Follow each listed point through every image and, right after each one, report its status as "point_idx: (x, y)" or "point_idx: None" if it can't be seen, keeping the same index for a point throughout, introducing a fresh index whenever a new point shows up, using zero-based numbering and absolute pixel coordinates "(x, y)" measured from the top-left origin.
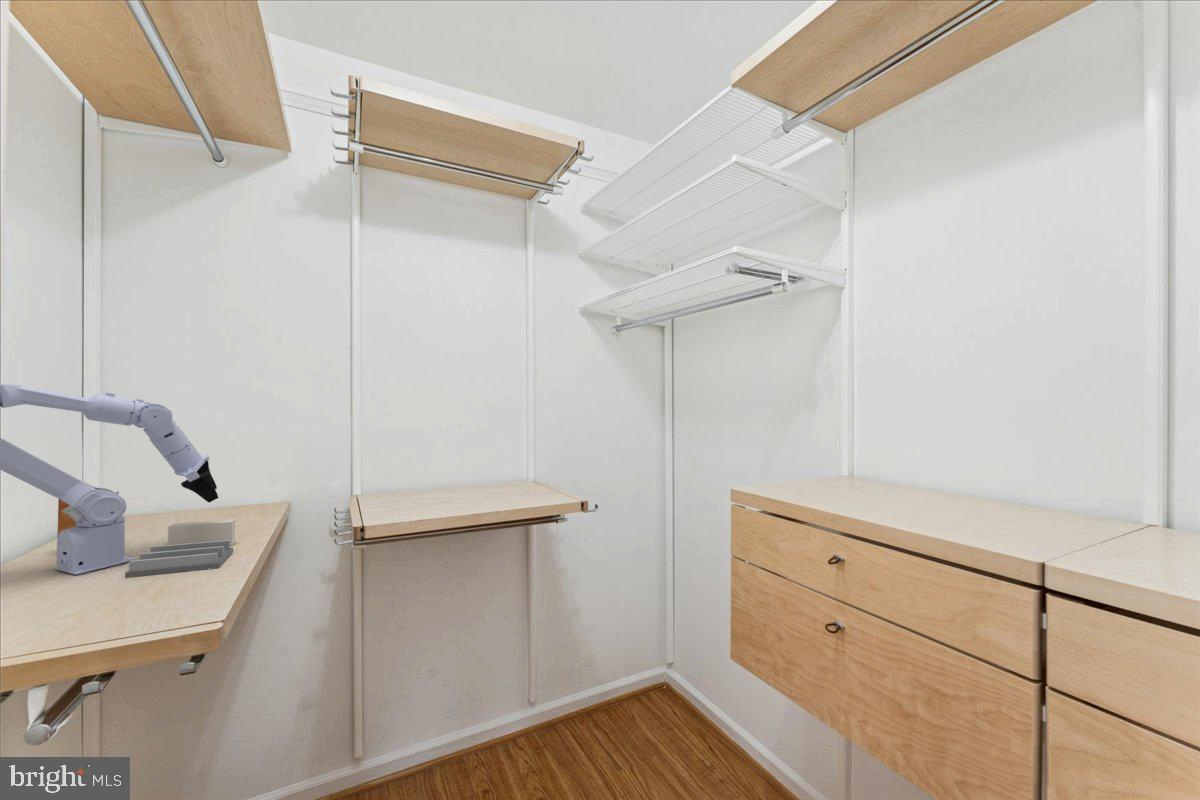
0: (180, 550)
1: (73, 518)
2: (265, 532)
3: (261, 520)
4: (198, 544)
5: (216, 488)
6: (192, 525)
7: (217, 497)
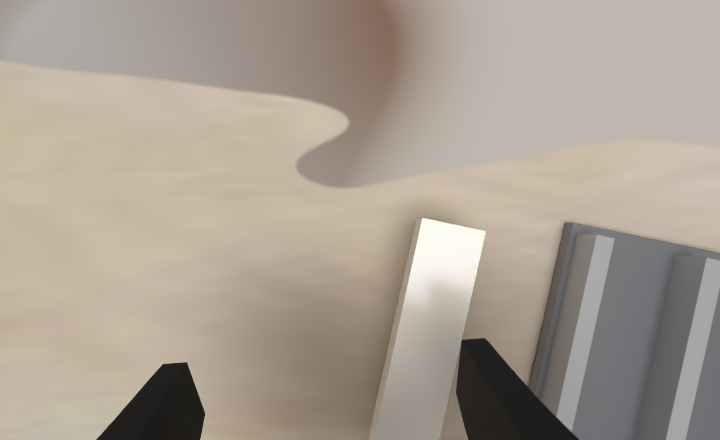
0: (681, 422)
1: None
2: (301, 108)
3: (71, 122)
4: (584, 356)
5: (186, 365)
6: (444, 410)
7: (488, 346)
